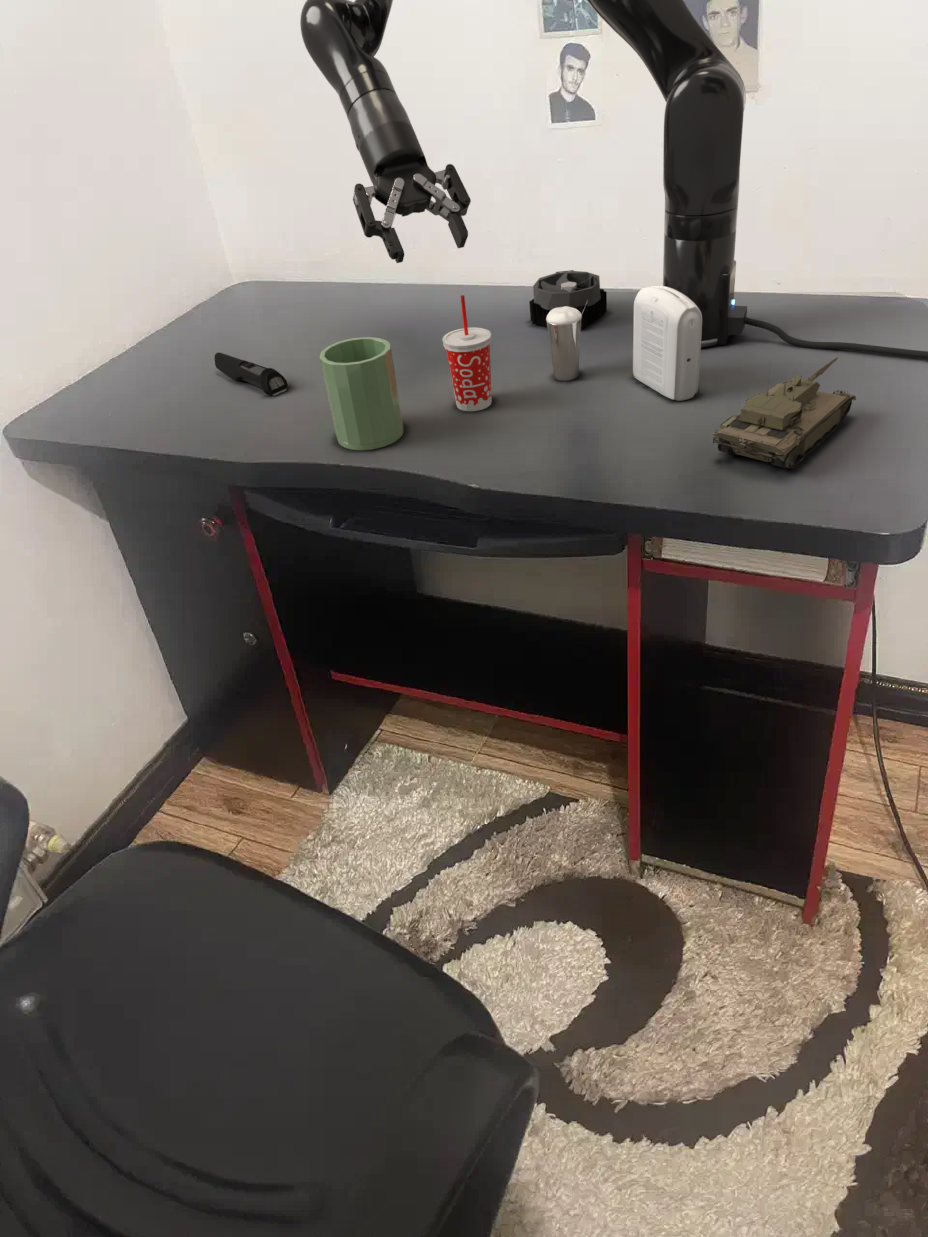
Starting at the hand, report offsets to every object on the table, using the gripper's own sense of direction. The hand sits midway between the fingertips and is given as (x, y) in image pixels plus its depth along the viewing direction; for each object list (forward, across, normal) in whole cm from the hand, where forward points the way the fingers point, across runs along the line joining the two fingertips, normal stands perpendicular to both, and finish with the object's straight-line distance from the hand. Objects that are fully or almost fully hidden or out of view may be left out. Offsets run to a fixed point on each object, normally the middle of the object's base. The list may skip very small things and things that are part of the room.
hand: (432, 251), depth 116 cm
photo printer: (+26, +22, -2) cm, 34 cm away
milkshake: (+19, +14, +6) cm, 24 cm away
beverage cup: (+19, 0, +6) cm, 20 cm away
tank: (+40, +25, -16) cm, 50 cm away
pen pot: (+19, -15, +6) cm, 25 cm away
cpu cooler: (+6, +24, +19) cm, 32 cm away
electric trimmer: (-1, -24, +25) cm, 35 cm away
